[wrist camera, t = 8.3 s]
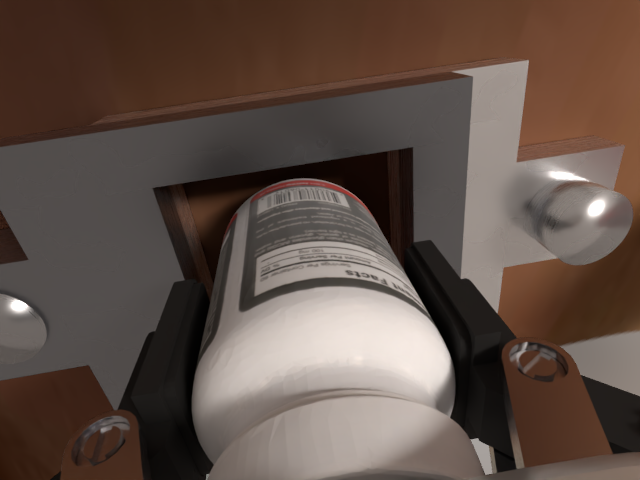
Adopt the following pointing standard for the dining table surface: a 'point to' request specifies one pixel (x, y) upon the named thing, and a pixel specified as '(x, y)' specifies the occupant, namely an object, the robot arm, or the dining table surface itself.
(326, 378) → the pill bottle
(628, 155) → the dining table surface
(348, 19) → the dining table surface
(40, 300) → the knobbed square frame
